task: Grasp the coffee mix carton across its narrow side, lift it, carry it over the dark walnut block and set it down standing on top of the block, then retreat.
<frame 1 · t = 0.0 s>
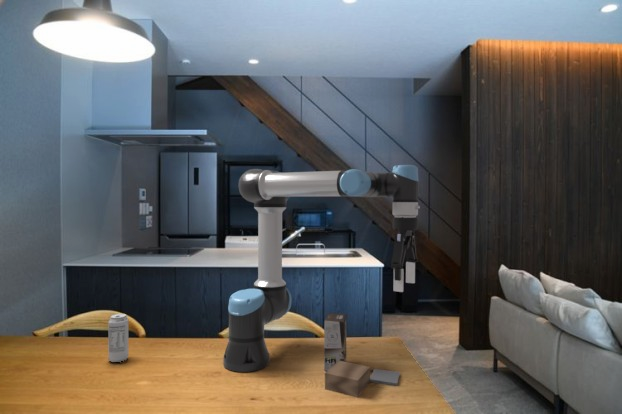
hand: (404, 287, 120), 28 cm above the table, fingers open, 13 cm apart
energy drink can: (118, 360, 133), on the table
slate coaster: (385, 378, 120), on the table
walnut block: (347, 386, 115), on the table
coffee box: (335, 366, 129), on the table
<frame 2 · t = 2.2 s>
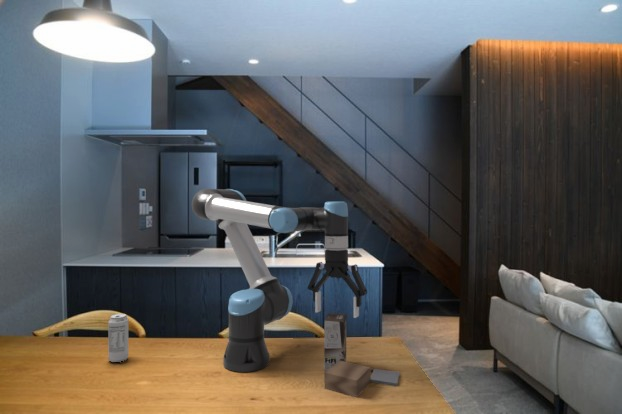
hand: (336, 314, 129), 17 cm above the table, fingers open, 13 cm apart
nothing on the table moved.
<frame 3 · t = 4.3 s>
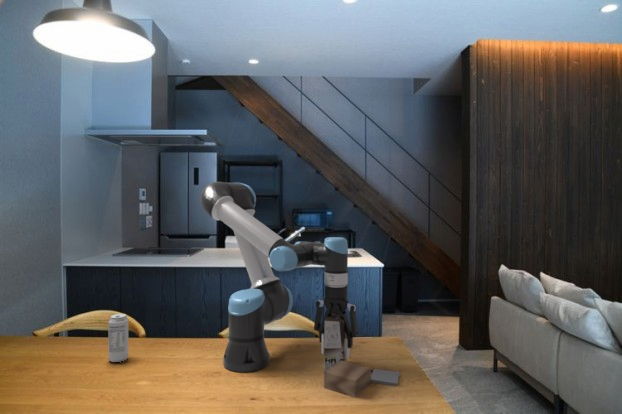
hand: (335, 354, 129), 4 cm above the table, fingers closed on coffee box, 7 cm apart
coffee box: (335, 366, 129), on the table, touching gripper
everything else where it was.
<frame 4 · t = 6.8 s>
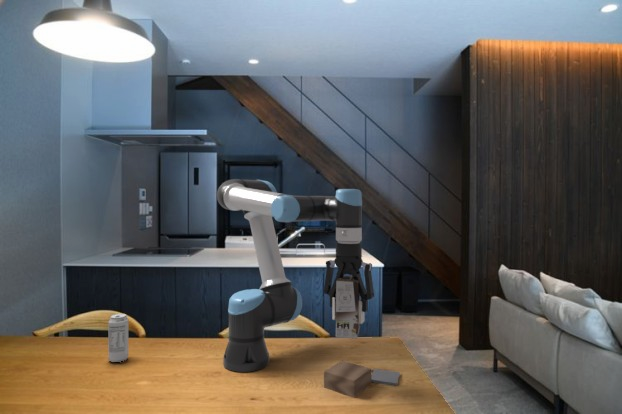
hand: (348, 320, 115), 19 cm above the table, fingers closed on coffee box, 7 cm apart
coffee box: (348, 333, 115), point 15 cm above the table, touching gripper
everything else where it was.
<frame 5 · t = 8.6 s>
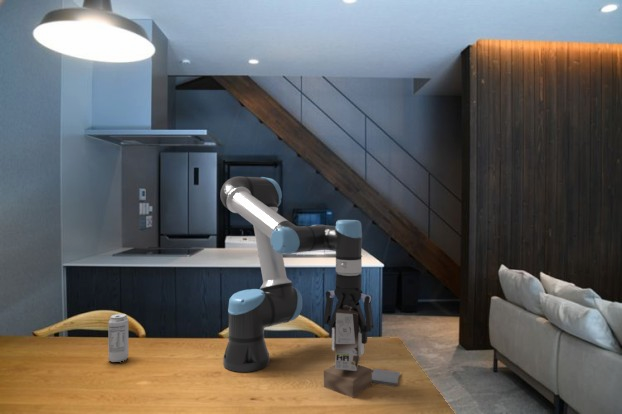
hand: (347, 351, 115), 10 cm above the table, fingers closed on coffee box, 7 cm apart
coffee box: (347, 364, 115), point 6 cm above the table, touching gripper
everything else where it was.
when the fingers open (10 cm above the table, at t = 9.2 s): coffee box drops 2 cm, point 5 cm above the table.
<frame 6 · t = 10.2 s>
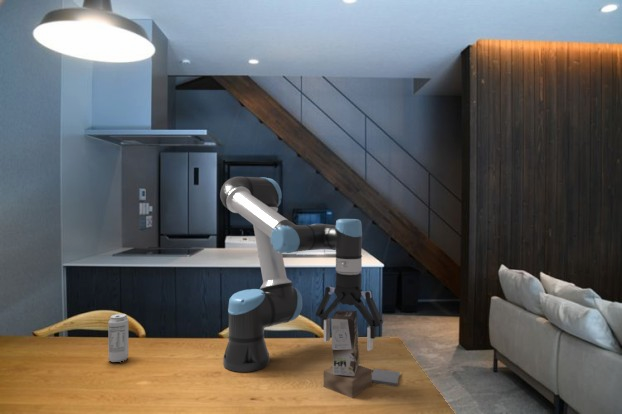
hand: (347, 345, 115), 12 cm above the table, fingers open, 13 cm apart
coffee box: (346, 369, 115), point 5 cm above the table
everything else where it was.
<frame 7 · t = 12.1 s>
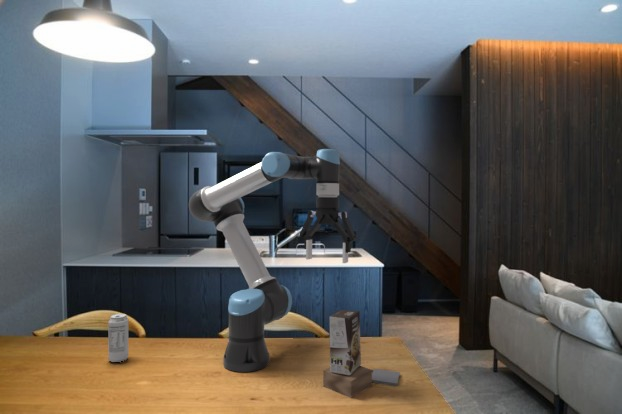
hand: (326, 260, 131), 34 cm above the table, fingers open, 13 cm apart
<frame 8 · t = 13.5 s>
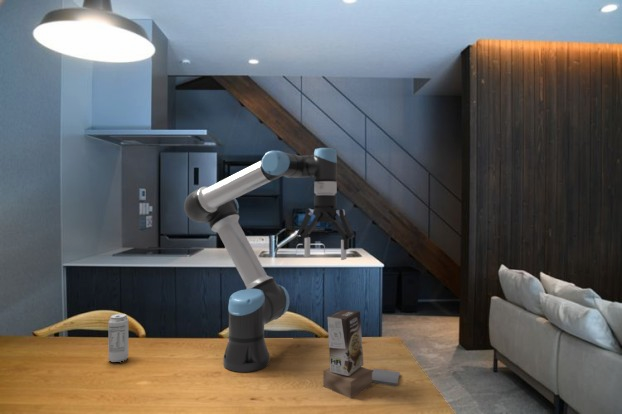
hand: (325, 258, 133), 35 cm above the table, fingers open, 13 cm apart
walnut block: (347, 387, 115), on the table, touching coffee box
coffee box: (347, 369, 116), point 5 cm above the table, touching walnut block
everything else where it was.
at the end: coffee box inside the target area on the walnut block (0.7 cm from its centre), point 5.0 cm above the walnut block's base; coffee box tilted 4°; the gripper is holding nothing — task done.
